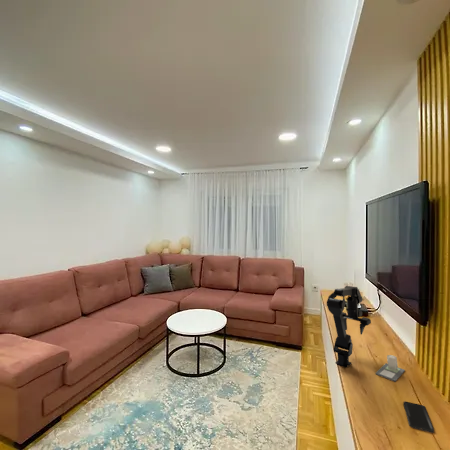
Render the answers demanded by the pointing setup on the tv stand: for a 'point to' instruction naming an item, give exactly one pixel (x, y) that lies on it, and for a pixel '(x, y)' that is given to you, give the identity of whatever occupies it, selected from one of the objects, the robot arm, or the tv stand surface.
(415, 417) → the phone
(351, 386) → the tv stand surface
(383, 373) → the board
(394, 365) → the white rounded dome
